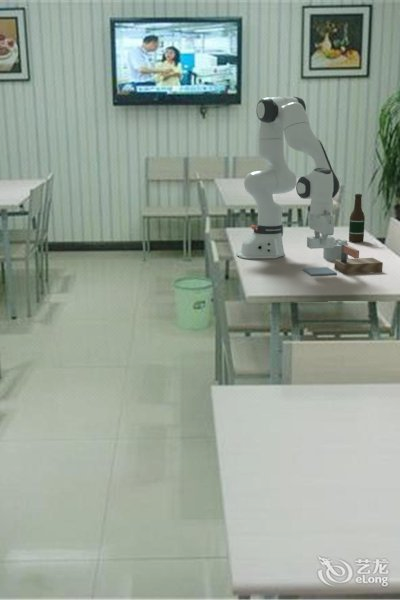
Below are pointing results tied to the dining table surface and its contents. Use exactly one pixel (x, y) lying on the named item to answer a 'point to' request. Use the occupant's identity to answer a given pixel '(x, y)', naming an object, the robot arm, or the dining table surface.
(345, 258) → the cam lever
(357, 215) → the beer bottle
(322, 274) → the pad
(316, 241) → the grey-blue rectangular block
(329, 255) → the paw pad
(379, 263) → the body
